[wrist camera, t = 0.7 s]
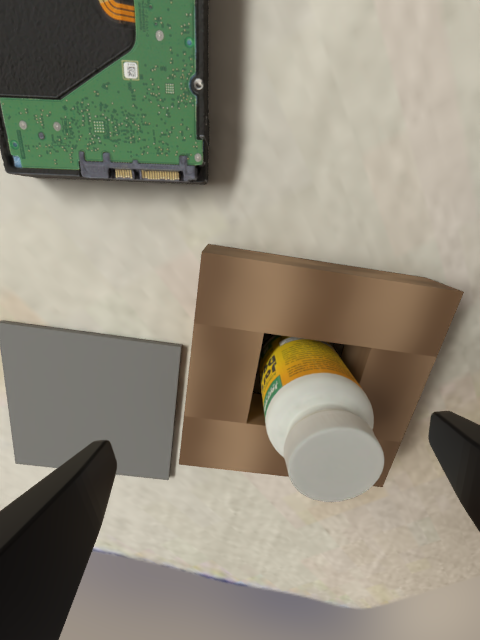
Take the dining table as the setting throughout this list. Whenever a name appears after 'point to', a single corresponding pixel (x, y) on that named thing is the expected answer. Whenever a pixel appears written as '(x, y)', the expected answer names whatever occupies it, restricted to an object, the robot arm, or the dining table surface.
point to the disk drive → (105, 89)
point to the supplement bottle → (318, 419)
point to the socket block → (309, 323)
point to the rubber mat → (90, 396)
